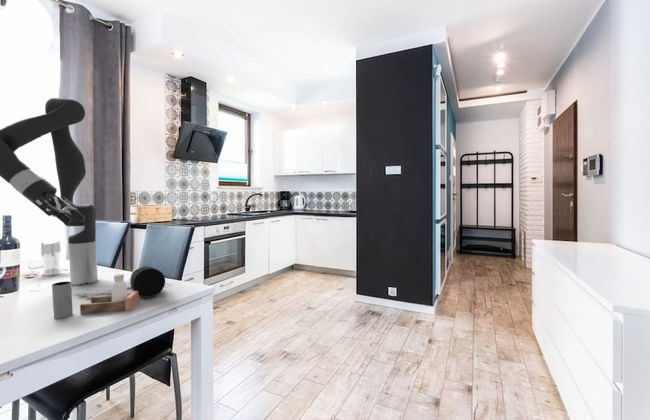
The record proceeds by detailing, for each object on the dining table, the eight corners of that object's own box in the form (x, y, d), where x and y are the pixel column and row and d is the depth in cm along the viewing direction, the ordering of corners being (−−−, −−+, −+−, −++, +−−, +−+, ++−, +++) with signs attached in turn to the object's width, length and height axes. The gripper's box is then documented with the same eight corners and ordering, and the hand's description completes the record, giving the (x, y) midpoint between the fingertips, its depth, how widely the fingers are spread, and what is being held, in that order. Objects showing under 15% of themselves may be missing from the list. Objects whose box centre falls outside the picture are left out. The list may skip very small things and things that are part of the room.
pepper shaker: (115, 311, 102) (113, 277, 102) (107, 308, 105) (105, 275, 105) (132, 306, 107) (131, 273, 106) (124, 303, 110) (123, 271, 109)
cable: (144, 288, 142) (154, 266, 145) (157, 300, 115) (170, 273, 118) (119, 281, 137) (131, 258, 140) (127, 292, 110) (141, 264, 113)
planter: (54, 315, 99) (52, 283, 99) (72, 312, 102) (71, 280, 101) (53, 320, 96) (51, 286, 95) (72, 316, 98) (70, 283, 98)
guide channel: (80, 314, 100) (79, 301, 100) (92, 305, 108) (91, 294, 107) (130, 310, 103) (130, 298, 103) (138, 302, 111) (138, 290, 111)
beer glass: (38, 276, 147) (36, 243, 146) (50, 272, 154) (48, 241, 153) (54, 275, 147) (52, 243, 146) (65, 271, 154) (63, 241, 153)
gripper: (28, 177, 96) (74, 214, 100) (55, 179, 110) (95, 211, 113) (8, 195, 95) (55, 232, 99) (38, 194, 109) (78, 227, 113)
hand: (76, 221), depth 106 cm, fingers open, 8 cm apart
